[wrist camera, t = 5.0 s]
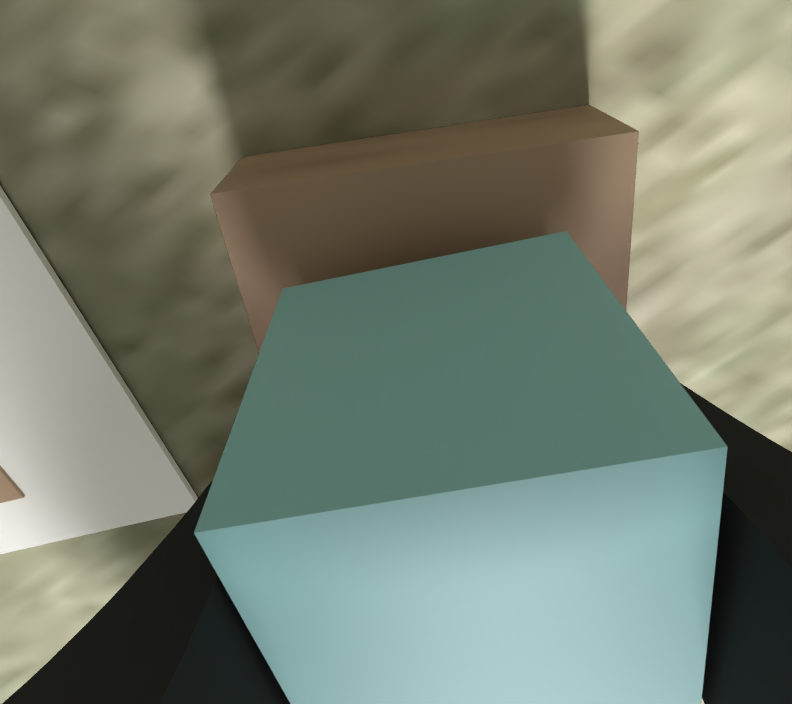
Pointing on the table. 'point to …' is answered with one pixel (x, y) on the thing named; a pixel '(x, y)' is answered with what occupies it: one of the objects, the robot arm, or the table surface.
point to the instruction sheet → (67, 415)
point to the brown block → (428, 200)
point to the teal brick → (469, 491)
